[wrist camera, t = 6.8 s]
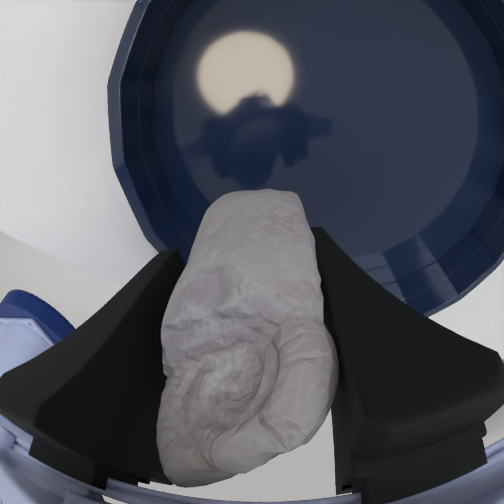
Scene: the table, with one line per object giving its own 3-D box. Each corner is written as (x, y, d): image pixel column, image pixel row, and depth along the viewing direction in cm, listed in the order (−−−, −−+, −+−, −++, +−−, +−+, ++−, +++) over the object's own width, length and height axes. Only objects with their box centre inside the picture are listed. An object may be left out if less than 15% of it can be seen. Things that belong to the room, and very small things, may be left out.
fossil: (256, 281, 14) (228, 500, 6) (189, 252, 13) (110, 470, 5) (321, 181, 11) (386, 482, 2) (240, 140, 10) (105, 445, 2)
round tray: (114, 227, 16) (85, 266, 13) (242, -105, 4) (236, -141, 1) (396, 319, 21) (411, 358, 17) (539, 94, 8) (577, 109, 5)
